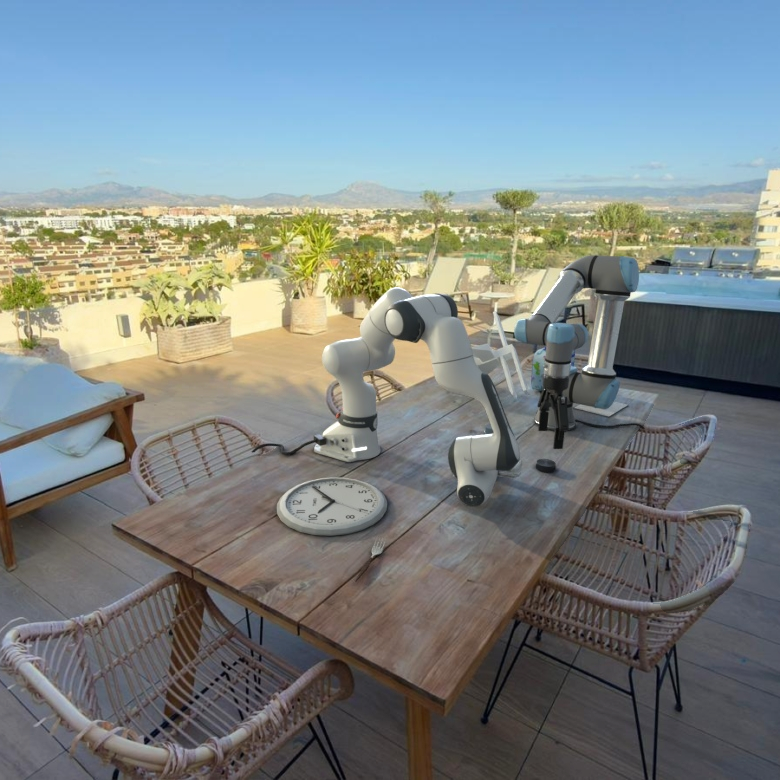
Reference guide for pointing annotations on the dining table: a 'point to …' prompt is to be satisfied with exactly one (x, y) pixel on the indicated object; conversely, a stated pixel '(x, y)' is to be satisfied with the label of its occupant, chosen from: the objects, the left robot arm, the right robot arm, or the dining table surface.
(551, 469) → the lid
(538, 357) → the lunch box
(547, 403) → the right robot arm
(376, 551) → the fork
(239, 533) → the dining table surface
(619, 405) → the invitation card
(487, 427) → the jar
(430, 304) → the left robot arm
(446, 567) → the dining table surface
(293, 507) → the wall clock
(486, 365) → the white plastic object
